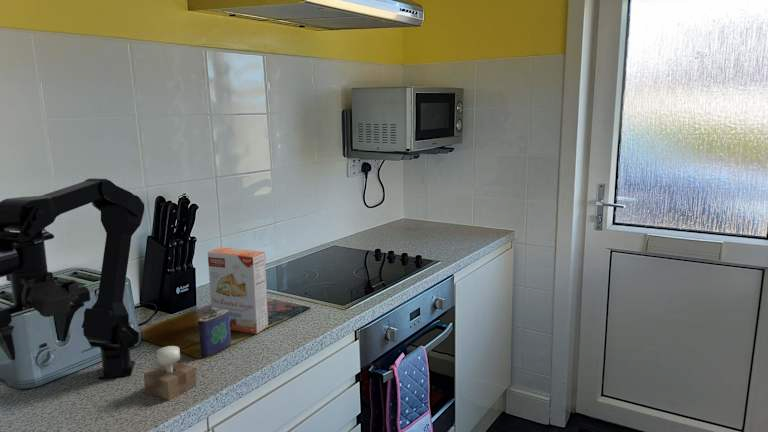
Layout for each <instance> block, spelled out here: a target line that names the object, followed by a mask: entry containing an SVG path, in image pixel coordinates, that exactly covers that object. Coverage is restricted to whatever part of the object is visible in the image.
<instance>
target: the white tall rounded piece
mask: <svg viewBox="0 0 768 432" xmlns="http://www.w3.org/2000/svg"><path fill="white" fill-rule="evenodd" d="M180 359H181V352H180V347H179V346H176V345H168V346H164V347H160V348H159V349H157V350H156V362H157V364H159V365H164V364H166V371H167V373H168V374H170V373H172V372H173V366H172V363H175V362H179V361H180Z"/></svg>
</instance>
